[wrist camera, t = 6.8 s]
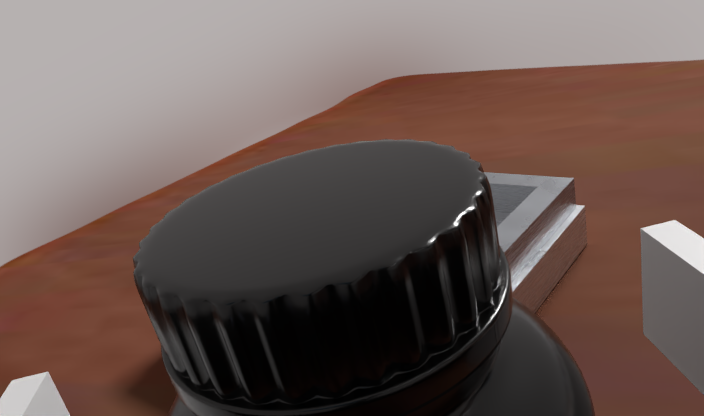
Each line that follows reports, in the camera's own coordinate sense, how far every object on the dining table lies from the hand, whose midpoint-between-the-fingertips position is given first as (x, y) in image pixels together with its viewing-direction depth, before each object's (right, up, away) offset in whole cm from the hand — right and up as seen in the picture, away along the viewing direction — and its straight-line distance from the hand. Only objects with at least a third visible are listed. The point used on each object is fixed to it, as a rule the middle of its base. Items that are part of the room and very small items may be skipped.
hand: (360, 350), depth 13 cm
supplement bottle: (+2, -8, 0) cm, 8 cm away
